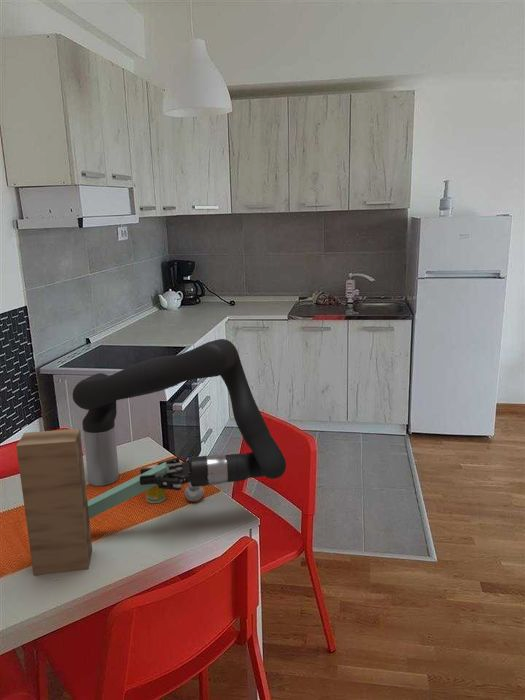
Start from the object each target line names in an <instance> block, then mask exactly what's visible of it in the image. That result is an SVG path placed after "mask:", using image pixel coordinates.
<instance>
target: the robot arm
mask: <svg viewBox="0 0 525 700" xmlns="http://www.w3.org/2000/svg"><path fill="white" fill-rule="evenodd" d="M244 370H245V369H244V368H243V364H242V361H241V358H240V355H239V352H238V350H237V348H236V345H235V344H234V343H233V342H232V341H230V340H229V339H225V338H218V339H215V340H212V341H207V342H206V343H204V344H202V345H199V346H197V347H194V348H192V349H190V350H188V351H185V352H183V353H179V354H175V355H165V356H158V357H154V358H150V359H147V360H143V361H139V362H137V363H135V364H132V365H129V366H127V367H125V368H123V369H121V370H118V371H117V372H116V373H113V374H111V375H108V374H106V373H101V372H99V373H95V374H92V375H90V376H88V377H86V378H83V379H82V380H80V381H79V382H78V383H77V384H76V385H75V386H74V388H73V390H72V401H73V402H74V404H75V405H76V406H77V407H79V408H81V409H83V410H87V413H86V415H85V416H84V418H83V419H82V422H81V423H82V433H83V434H82V435H83V443H84V453H85V462H86V472H87V474H86V475H87V482H88V483H89V485H92V486H94V487H95V486H97V487H98V486H99V487H102V486H108V485H112V484H113V483H115V482H116V481H118V480H119V478H120V471H119V459H118V449H117V439H116V438H117V437H116V426H115V424H116V423H115V420H116V417H117V401H120V400H126V399H131V398H135V397H141V396H144V395H151V394H154V393H158V392H162V391H164V390H168V389H170V388H172V387H175V386H177V385H179V384H181V383H184V382H188V381H193V380H198V379H206V378H214V377H220V378H221V379H222V380H223V382H224V384H225V386H226V388H227V391H228V395H229V398H230V399H229V400H230V402H231V403H230V404H231V409H232V414H233V418H234V421H235V423H236V426H237V428H238V430H239V432H240V434H241V436H242V439H243V441H244V443H245V444H246V445H247V446H248V447H249V448H250V450H251V452H247V453H231V454H211V455H201V456H199V455H197V456H190V457H189V460H188V462H182V461H181V460H180V457H174V458H171V459H168V460H163V461H161V462H158V463H157V465H160V464H162V463H164V462H166V463H167V465H168V467H169V470H168V471H165V472H164V473H162V474H156V475H144V476H140V484H141V485H147V484H156V485H158V488H160V489H165V490H170V491H181V490H182V485H184V484H188V482H191V486H192V487H197V486H200V487H206V486H215V485H220V484H221V485H222V484H225V483H235V482H242V481H245V480H248V479H250V478H261V477H262V478H263V477H264V478H267V479H270V480H276V479H279V478H281V477H282V476H284V474H285V472H286V470H287V462H286V458H285V456H284V454H283V453H282V450H281V449H280V447H279V445H278V444H277V443H276V441H275V439H274V437H273V436H272V434H271V432H270V430H269V428H268V426H267V423H266V421H265V419H264V416H263V415H262V413H261V411H260V409H259V407H258V405H257V403H256V400H255V398H254V396H253V393H252V391H251V388H250V385H249V382H248V379H247V377H246V374H245V371H244ZM150 469H152V468H147V467H146V468H145V467H144V468H141V469H139V471H140V472H139V473H140V474H142V473H144V472H146V471H148V470H150ZM140 474H139V475H140ZM168 475H169V478H168ZM162 477H165V478H162ZM163 484H165V485H163Z"/></svg>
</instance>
